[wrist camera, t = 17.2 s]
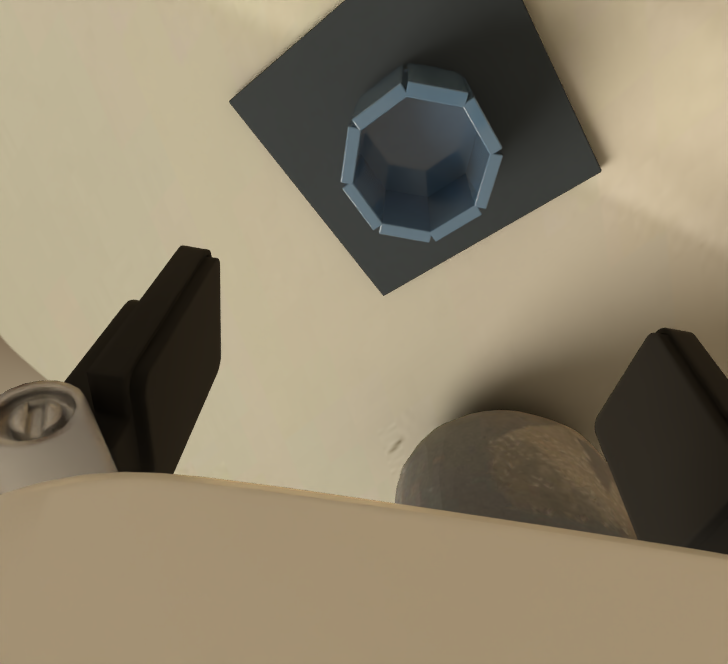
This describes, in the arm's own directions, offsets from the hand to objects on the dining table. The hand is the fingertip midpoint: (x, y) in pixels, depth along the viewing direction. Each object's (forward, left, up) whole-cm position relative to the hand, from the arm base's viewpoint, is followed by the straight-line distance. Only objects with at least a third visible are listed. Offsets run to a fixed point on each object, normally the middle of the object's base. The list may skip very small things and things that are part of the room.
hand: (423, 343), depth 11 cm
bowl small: (+1, 0, -19) cm, 19 cm away
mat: (+1, 0, -19) cm, 19 cm away
